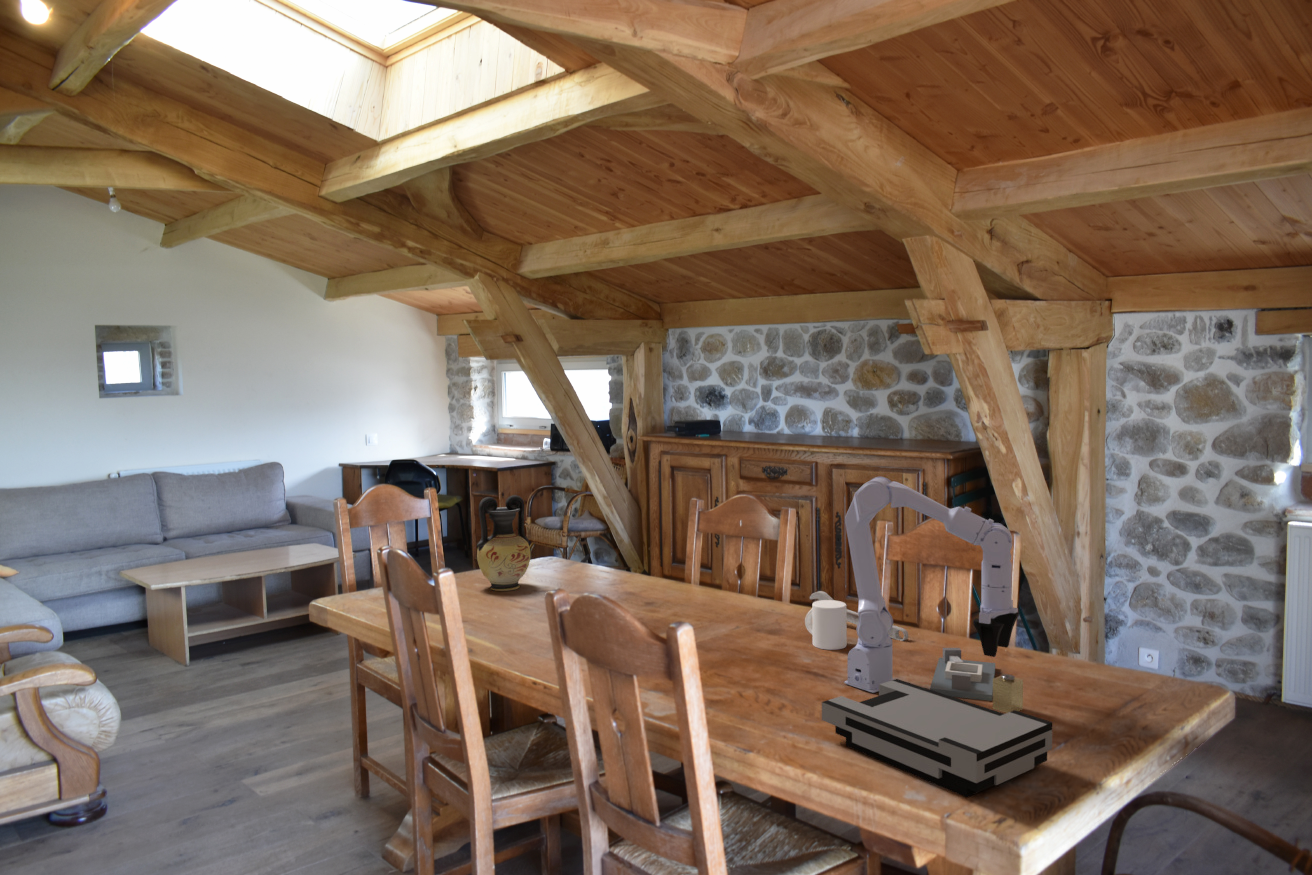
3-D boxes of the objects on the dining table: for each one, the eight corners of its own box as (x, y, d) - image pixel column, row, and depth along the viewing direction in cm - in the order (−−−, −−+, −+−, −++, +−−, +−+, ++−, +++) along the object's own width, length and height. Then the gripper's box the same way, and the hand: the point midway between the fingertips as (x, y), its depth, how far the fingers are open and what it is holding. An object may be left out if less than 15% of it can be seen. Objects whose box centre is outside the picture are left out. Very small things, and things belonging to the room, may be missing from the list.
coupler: (1011, 714, 170) (1011, 680, 169) (992, 708, 173) (992, 675, 172) (1022, 709, 172) (1023, 676, 172) (1004, 703, 175) (1004, 671, 175)
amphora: (514, 579, 297) (512, 491, 295) (541, 587, 284) (539, 495, 282) (467, 587, 286) (465, 496, 284) (493, 596, 273) (491, 500, 271)
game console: (896, 713, 172) (896, 672, 171) (1051, 770, 146) (1052, 721, 145) (821, 739, 160) (821, 695, 159) (976, 806, 133) (976, 753, 133)
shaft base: (992, 700, 177) (992, 680, 176) (929, 693, 181) (929, 673, 181) (995, 668, 197) (995, 649, 197) (939, 662, 202) (939, 644, 201)
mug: (829, 609, 210) (794, 600, 220) (829, 652, 211) (795, 640, 221) (853, 604, 215) (818, 595, 225) (853, 645, 216) (818, 635, 225)
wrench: (902, 653, 219) (807, 617, 241) (907, 651, 220) (811, 616, 242) (906, 622, 218) (810, 589, 240) (910, 620, 219) (814, 588, 241)
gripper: (1005, 594, 169) (1004, 663, 170) (1028, 580, 180) (1027, 645, 181) (968, 589, 174) (968, 656, 175) (993, 576, 185) (993, 640, 186)
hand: (996, 650), depth 178 cm, fingers open, 7 cm apart
